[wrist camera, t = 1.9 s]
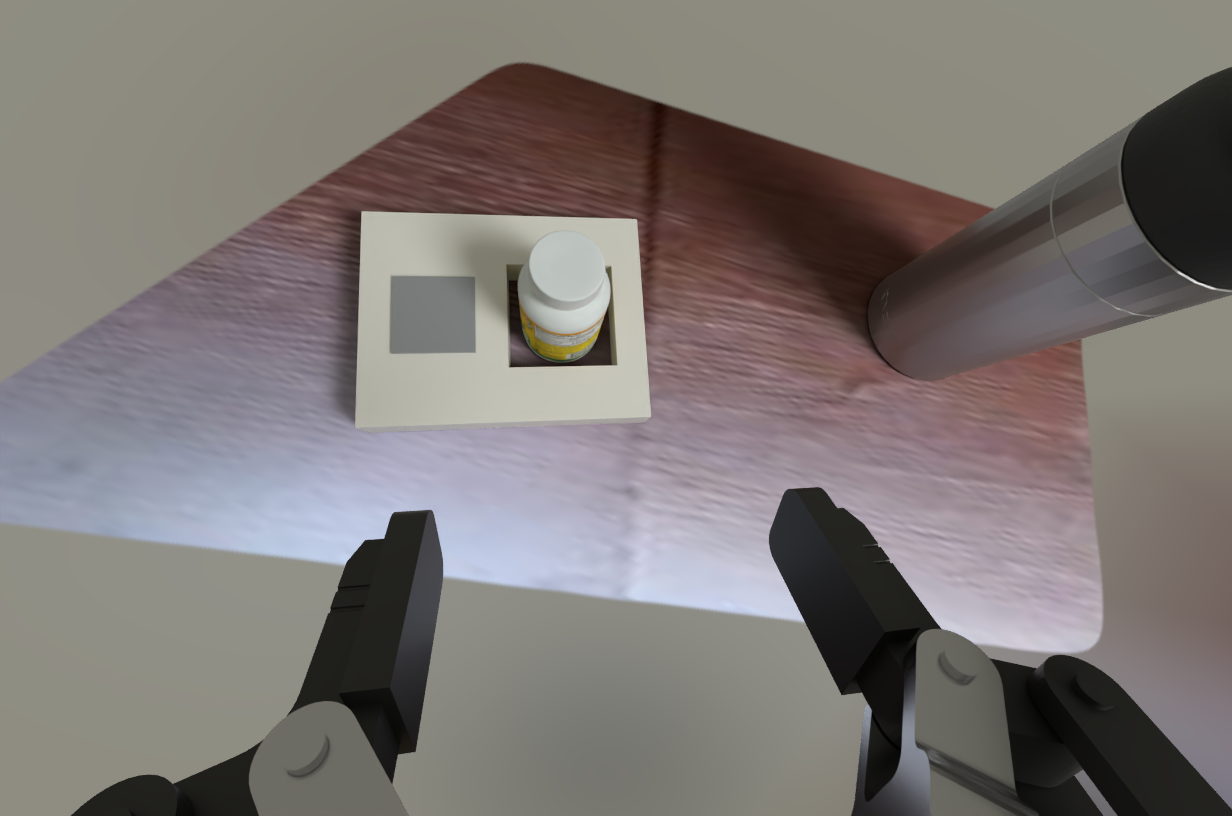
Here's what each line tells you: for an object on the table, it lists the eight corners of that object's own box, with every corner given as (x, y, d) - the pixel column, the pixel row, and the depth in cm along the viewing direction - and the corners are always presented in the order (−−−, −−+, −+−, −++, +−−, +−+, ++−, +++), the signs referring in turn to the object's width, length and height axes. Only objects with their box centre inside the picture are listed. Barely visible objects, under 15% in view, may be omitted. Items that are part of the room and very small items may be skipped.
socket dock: (630, 237, 36) (637, 217, 34) (643, 422, 34) (651, 416, 32) (374, 231, 34) (360, 209, 31) (369, 432, 31) (353, 427, 29)
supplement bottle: (587, 373, 34) (605, 327, 25) (512, 352, 34) (501, 298, 24) (605, 303, 35) (628, 235, 26) (533, 282, 35) (530, 205, 25)
